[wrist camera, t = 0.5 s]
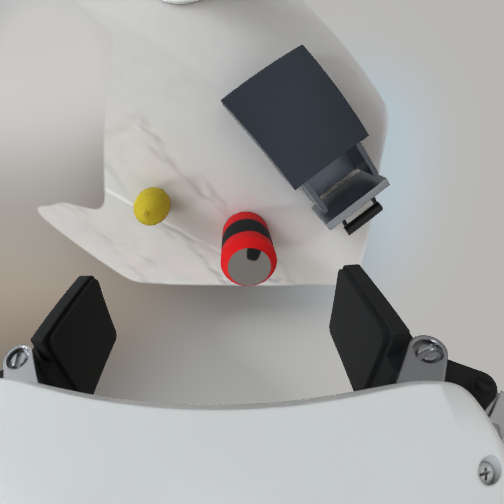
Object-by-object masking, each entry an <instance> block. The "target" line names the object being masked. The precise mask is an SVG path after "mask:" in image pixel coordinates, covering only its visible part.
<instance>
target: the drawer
mask: <svg viewBox="0 0 504 504" xmlns="http://www.w3.org/2000/svg"><path fill="white" fill-rule="evenodd" d="M355 168H357V169H359V170H361V171H360V172H358V173H357V174H356V175H354V176H353V177H352V178H350V179H349V180H348V181H346V182H345V183H344V184H342V185H341V186H340V187H338V188H337V189H336V190H335V191H333V192H332V193H331V194H329V195H328V196H327V197H325V198H324V199H323V200H321V198H320V197H319V195H321V194H322V193H323V192H325V191H326V190H327V189H329V188H330V187H331V186H333V185H334V184H335V183H337V182H338V181H339V180H341V179H342V178H343V177H345V176H346V175H347V174H349V173H350V172H351V171H353V170H354V169H355ZM389 185H390V184H389V182H388V180H387V178H385V177H382V176H380V175H378V172H377V170H376V168H375V166H374V165H373V163H372V161H371V159H370V158H369V156H368V154H367V153H366V151H365V149H364V148H363V146H362V145H361V143H360V142H359V143H358V144H356V145H355V146H354V147H352V148H351V149H349V150H348V151H347V152H345V153H344V154H343V155H341V156H340V157H339V158H337V159H336V160H335V161H333V162H332V163H331V164H329V165H328V166H326V167H325V168H324V169H322V170H321V171H320V172H318V173H317V174H316V175H314V176H313V177H312V178H310V179H309V180H308V181H307V182H305V183H304V184H303V185H301V187H302V188H303V190H304V191H305V192H306V194H307V195H308V196H309V198H310V199H311V200H312V201H313V202H314V203H315V204H316V205H315V206H313V207H312V209H313V210H314V212H315V213H316V214H317V215H318V217H319V218H320V219H321V220H322V221H323V223H324V224H325V225H326V226H327V227H328V229H329V230H331V229H333V228H334V227H335V226H337V225H338V224H339V223H341V222H342V223H343V225H344V229H345V231H346V232H347V233H348V235H351V234H352V233H353V232H355V231H356V230H357V229H359V228H360V227H361V226H362V225H364V224H365V223H366V222H368V221H369V220H370V219H372V218H373V217H374V216H375V215H377V214H378V213H379V212H380V211H381V210H383V208H382V206H381V205H380V204H379V202H377V201H376V199H375V196H376V195H377V194H379V193H380V192H381V191H382V190H384V189H385V188H386V187H388V186H389ZM370 200H371V201H372V202H373V205H372V206H371V207H369V208H368V209H367V210H365V211H364V212H363V213H361V214H360V215H359V216H358V217H356V218H355V219H354V220H352V221H351V222H350V223H347V222H346V220H345V219H346V218H347V217H349V216H350V215H351V214H353V213H354V212H355V211H357V210H358V209H359V208H361V207H362V206H363V205H364V204H366V203H367V202H368V201H370Z"/></svg>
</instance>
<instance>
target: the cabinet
mask: <svg viewBox="0 0 504 504" xmlns="http://www.w3.org/2000/svg"><path fill="white" fill-rule="evenodd" d="M221 102H222V104H223V106H224V107H225V108H226V109H227V110H228V111H229V113H230V114H231V115H232V116H233V117H234V118H235V119H236V121H237V122H238V123H239V124H240V125H241V126H242V127H243V129H244V130H245V131H246V132H247V133H248V134H249V136H250V137H251V138H252V139H253V140H254V141H255V143H256V144H257V145H258V146H259V147H260V149H261V150H262V151H263V152H264V154H265V155H266V156H267V157H268V158H269V160H270V161H271V162H272V163H273V165H274V166H275V167H276V168H277V170H278V171H279V172H280V173H281V175H282V176H283V177H284V178H285V179H286V180H287V181H288V182H289V184H290V185H291V186H292V187H293V188H294V189H295V190H296V189H297V188H299V187H300V186H301V185H303V184H304V183H305V182H307V181H308V180H309V179H310V178H312V177H313V176H314V175H316V174H317V173H318V172H320V171H321V170H322V169H324V168H325V167H326V166H328V165H329V164H331V163H332V162H333V161H335V160H336V159H337V158H339V157H340V156H341V155H343V154H344V153H345V152H347V151H348V150H349V149H351V148H352V147H354V146H355V145H356V144H358V143H359V142H360V141H362V140H363V139H365V138H366V137H367V136H369V135H368V133H367V131H366V130H365V128H364V127H363V125H362V123H361V122H360V120H359V119H358V117H357V116H356V114H355V113H354V111H353V110H352V108H351V107H350V105H349V104H348V102H347V101H346V99H345V98H344V97H343V95H342V94H341V92H340V91H339V90H338V88H337V87H336V86H335V84H334V83H333V82H332V80H331V79H330V78H329V76H328V75H327V74H326V72H325V71H324V70H323V69H322V67H321V66H320V65H319V64H318V62H317V61H316V60H315V59H314V58H313V56H312V55H311V54H310V53H309V52H308V50H307V49H306V48H305V47H304V46H303V45H301V46H299V47H297V48H296V49H294V50H292V51H291V52H289V53H287V54H286V55H284V56H283V57H281V58H279V59H278V60H276V61H275V62H273V63H272V64H270V65H269V66H267V67H266V68H264V69H263V70H261V71H260V72H258V73H257V74H256V75H254V76H253V77H251V78H250V79H248V80H247V81H246V82H244V83H243V84H242V85H240V86H239V87H238V88H236V89H235V90H233V91H232V92H231V93H230V94H228V95H227V96H226V97H224V98H223V99H222V100H221Z"/></svg>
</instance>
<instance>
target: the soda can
mask: <svg viewBox="0 0 504 504" xmlns="http://www.w3.org/2000/svg"><path fill="white" fill-rule="evenodd" d="M276 264H277V257H276V253H275V250H274V247H273V243H272V240H271V237H270V234H269V231H268V228H267V225H266V223H265V221H264V220H263V219H262V218H261V217H260V216H259V215H257V214H255V213H251V212H240V213H237V214H235V215H233V216H232V217H230V218H229V219H228V220H227V222H226V224H225V225H224V229H223V238H222V251H221V268H222V271H223V273H224V274H225V276H226V277H227V278H228V279H229V280H231V281H232V282H234V283H236V284H238V285H242V286H254V285H258V284H260V283H262V282H264V281H266V280H267V279H268V278H269V277H270V276H271V275H272V274H273V272H274V270H275V268H276Z"/></svg>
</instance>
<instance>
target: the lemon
mask: <svg viewBox="0 0 504 504" xmlns="http://www.w3.org/2000/svg"><path fill="white" fill-rule="evenodd" d="M169 211H170V199H169V196H168V195H167V193H166V192H165V191H164V190H162V189H160V188H156V187H151V188H148V189H145V190H144V191H142V192H141V193H140V194H139V195H138V196H137V198H136V200H135V203H134V214H135V216H136V218H137V219H138V221H139V222H141V223H142V224H145V225H155V224H158V223H160V222H161V221H163V220H164V219H165V218H166V216H167V215H168V213H169Z"/></svg>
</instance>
